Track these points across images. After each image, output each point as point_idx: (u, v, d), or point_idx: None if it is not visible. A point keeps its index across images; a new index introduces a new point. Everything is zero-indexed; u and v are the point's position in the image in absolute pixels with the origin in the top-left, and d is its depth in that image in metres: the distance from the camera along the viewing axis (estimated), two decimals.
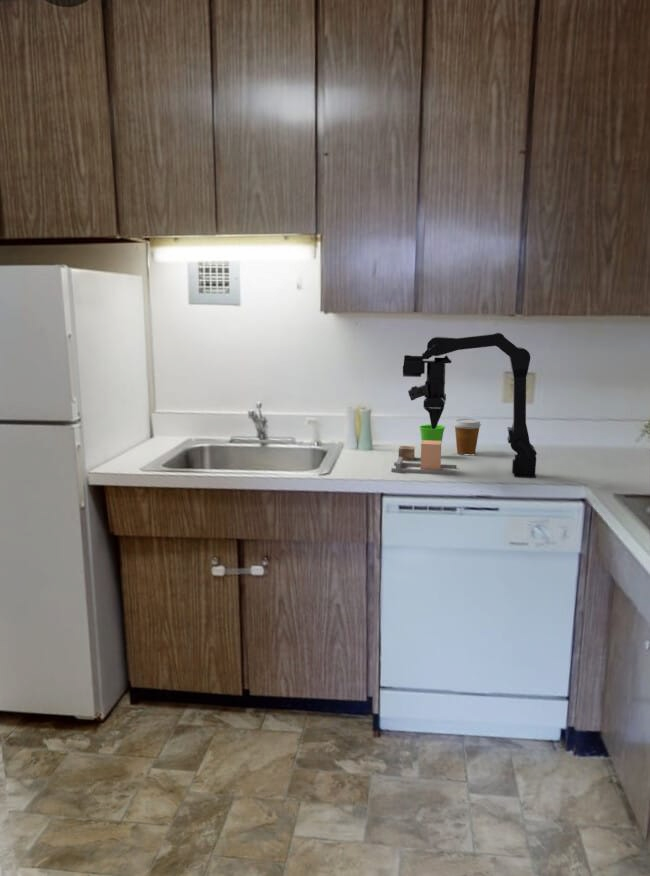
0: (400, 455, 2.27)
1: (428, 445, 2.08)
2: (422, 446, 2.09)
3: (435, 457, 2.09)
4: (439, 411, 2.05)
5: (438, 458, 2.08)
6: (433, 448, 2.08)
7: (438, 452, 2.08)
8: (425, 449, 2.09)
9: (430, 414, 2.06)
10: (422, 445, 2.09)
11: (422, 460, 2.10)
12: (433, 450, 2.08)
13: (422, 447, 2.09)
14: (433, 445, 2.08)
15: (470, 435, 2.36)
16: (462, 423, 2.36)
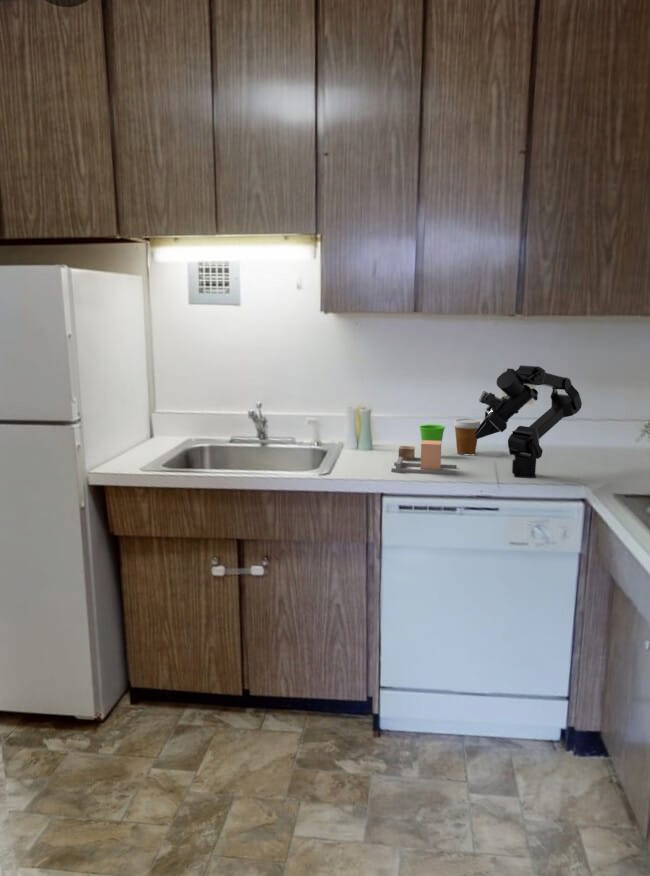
0: (400, 455, 2.27)
1: (428, 445, 2.08)
2: (422, 446, 2.09)
3: (435, 457, 2.09)
4: (494, 430, 2.01)
5: (438, 458, 2.08)
6: (433, 448, 2.08)
7: (438, 452, 2.08)
8: (425, 449, 2.09)
9: (485, 426, 2.02)
10: (422, 445, 2.09)
11: (422, 460, 2.10)
12: (433, 450, 2.08)
13: (422, 447, 2.09)
14: (433, 445, 2.08)
15: (470, 435, 2.36)
16: (462, 423, 2.36)
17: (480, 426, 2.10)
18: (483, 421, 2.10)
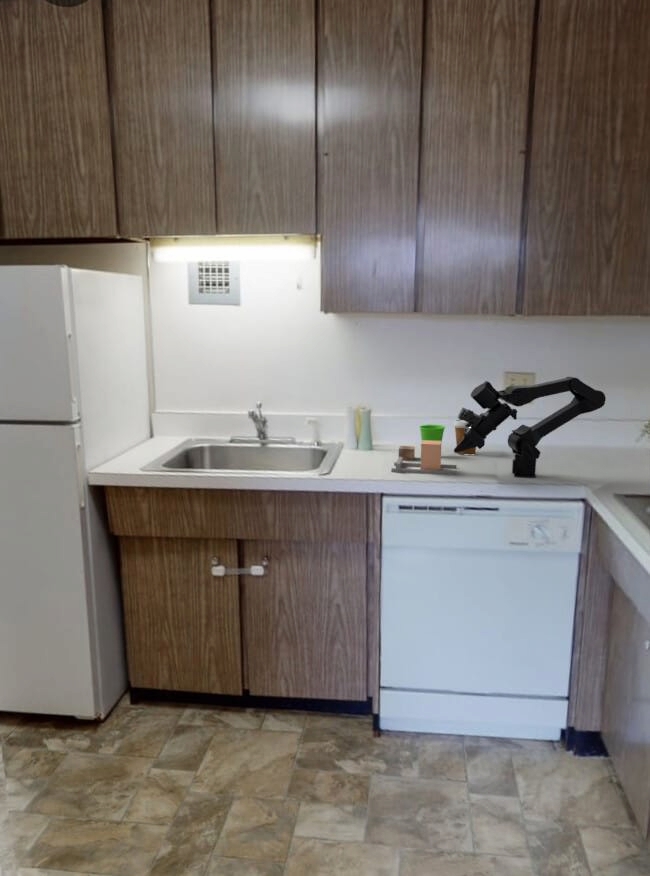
0: (400, 455, 2.27)
1: (428, 445, 2.08)
2: (422, 446, 2.09)
3: (435, 457, 2.09)
4: (472, 444, 2.06)
5: (438, 458, 2.08)
6: (433, 448, 2.08)
7: (438, 452, 2.08)
8: (425, 449, 2.09)
9: (463, 440, 2.07)
10: (422, 445, 2.09)
11: (422, 460, 2.10)
12: (433, 450, 2.08)
13: (422, 447, 2.09)
14: (433, 445, 2.08)
15: None
16: (462, 423, 2.36)
17: (459, 444, 2.09)
18: (462, 439, 2.09)
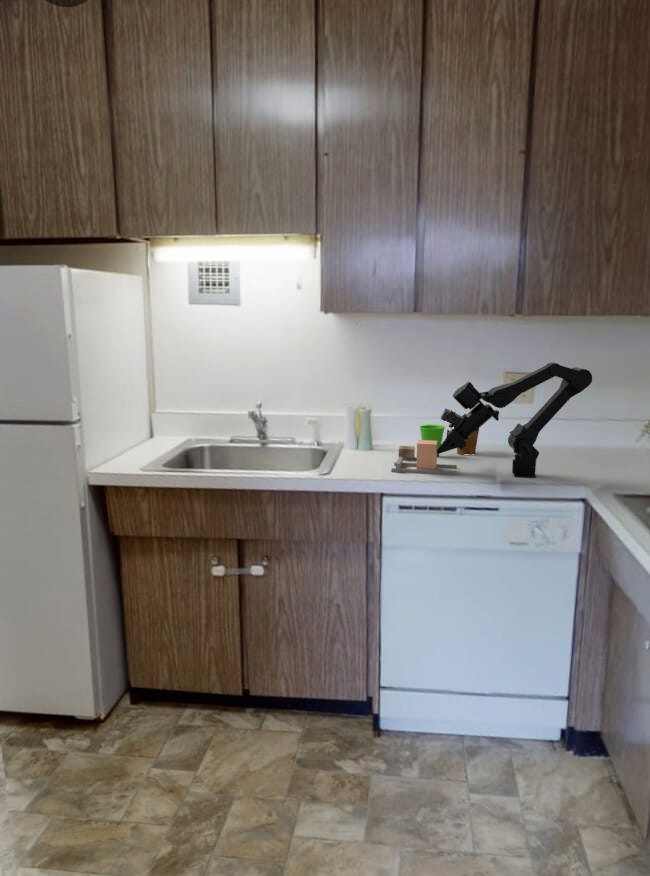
0: (400, 455, 2.27)
1: (424, 445, 2.09)
2: (418, 446, 2.09)
3: (431, 457, 2.09)
4: (454, 445, 2.07)
5: (434, 458, 2.09)
6: (429, 448, 2.08)
7: (434, 452, 2.08)
8: (421, 449, 2.09)
9: (446, 441, 2.08)
10: (418, 445, 2.09)
11: (418, 460, 2.10)
12: (429, 450, 2.08)
13: (418, 447, 2.09)
14: (429, 445, 2.08)
15: None
16: None
17: (442, 444, 2.10)
18: (445, 440, 2.10)
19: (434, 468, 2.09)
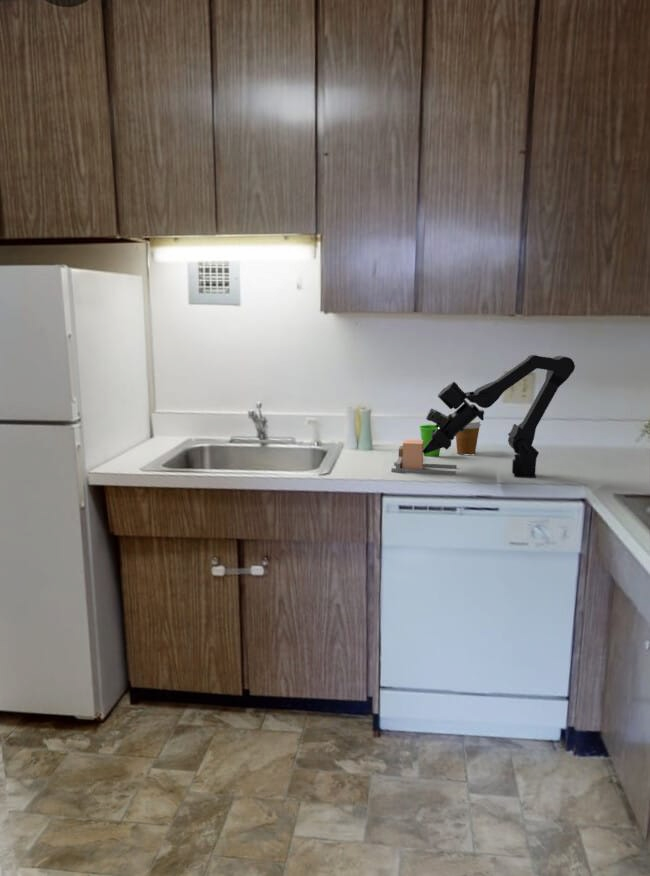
0: (400, 455, 2.27)
1: (410, 444, 2.09)
2: (404, 445, 2.10)
3: (417, 456, 2.10)
4: (440, 445, 2.08)
5: (420, 457, 2.10)
6: (415, 447, 2.09)
7: (420, 451, 2.09)
8: (407, 448, 2.10)
9: (431, 441, 2.09)
10: (404, 444, 2.10)
11: (404, 459, 2.11)
12: (415, 450, 2.09)
13: (404, 446, 2.10)
14: (415, 444, 2.09)
15: (470, 435, 2.36)
16: None
17: None
18: (431, 439, 2.11)
19: (420, 467, 2.10)
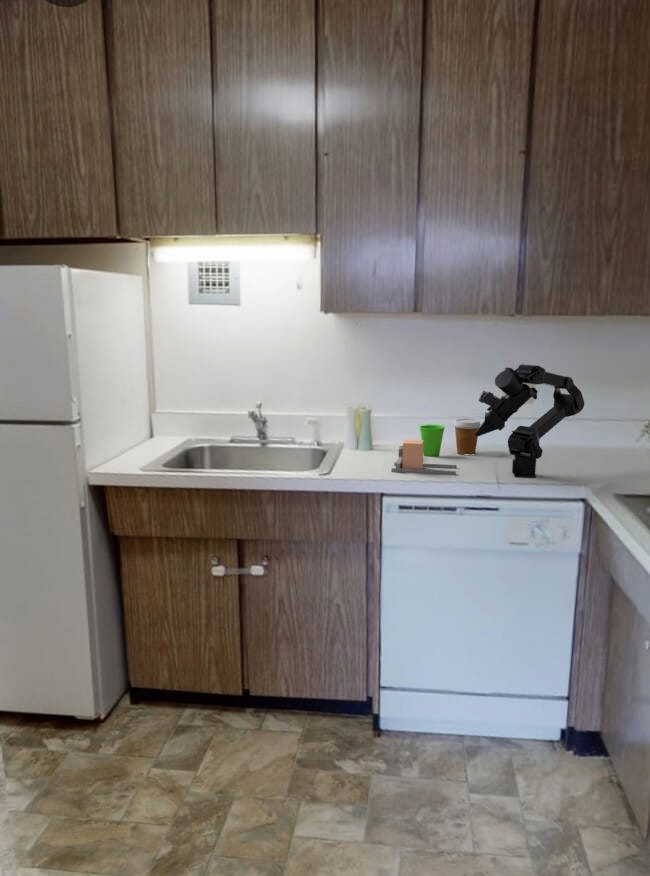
0: (400, 455, 2.27)
1: (410, 444, 2.09)
2: (404, 445, 2.10)
3: (417, 456, 2.10)
4: (493, 427, 2.04)
5: (420, 457, 2.10)
6: (415, 447, 2.09)
7: (420, 451, 2.09)
8: (407, 448, 2.10)
9: (484, 423, 2.05)
10: (404, 444, 2.10)
11: (404, 459, 2.11)
12: (415, 450, 2.09)
13: (404, 446, 2.10)
14: (415, 444, 2.09)
15: (470, 435, 2.36)
16: (462, 423, 2.36)
17: None
18: (483, 422, 2.07)
19: (420, 467, 2.10)
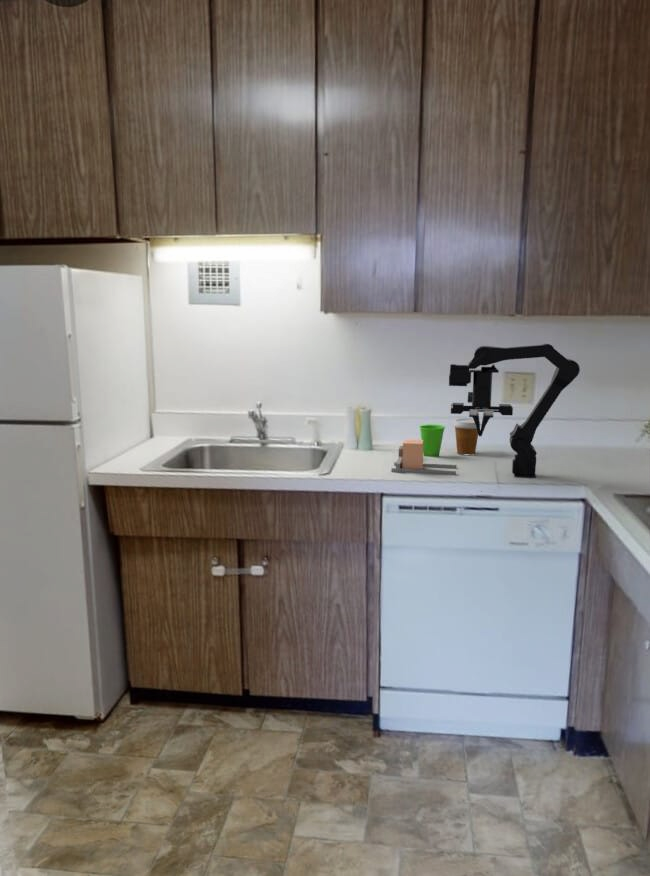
0: (400, 455, 2.27)
1: (410, 444, 2.09)
2: (404, 445, 2.10)
3: (417, 456, 2.10)
4: None
5: (420, 457, 2.10)
6: (415, 447, 2.09)
7: (420, 451, 2.09)
8: (407, 448, 2.10)
9: None
10: (404, 444, 2.10)
11: (404, 459, 2.11)
12: (415, 450, 2.09)
13: (404, 446, 2.10)
14: (415, 444, 2.09)
15: (470, 435, 2.36)
16: (462, 423, 2.36)
17: None
18: None
19: (420, 467, 2.10)
